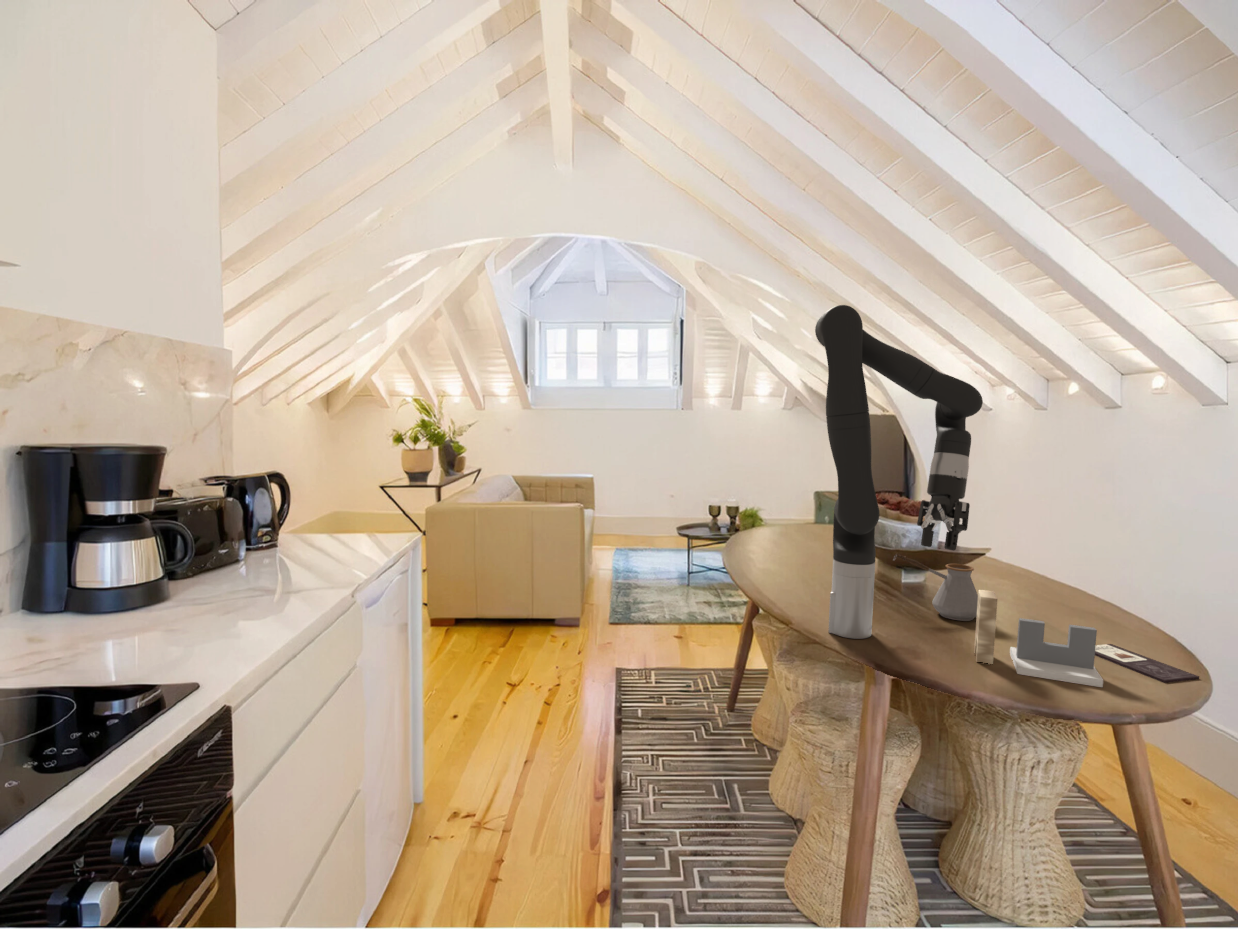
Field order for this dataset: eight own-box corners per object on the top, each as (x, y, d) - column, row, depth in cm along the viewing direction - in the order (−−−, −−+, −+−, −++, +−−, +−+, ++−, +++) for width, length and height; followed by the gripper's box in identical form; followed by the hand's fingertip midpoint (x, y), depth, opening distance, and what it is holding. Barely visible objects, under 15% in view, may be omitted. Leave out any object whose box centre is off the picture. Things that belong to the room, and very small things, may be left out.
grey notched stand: (1017, 673, 130) (1020, 627, 129) (1009, 653, 141) (1012, 610, 140) (1102, 687, 124) (1106, 639, 123) (1087, 665, 135) (1091, 620, 134)
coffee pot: (977, 612, 169) (980, 555, 168) (986, 626, 158) (990, 565, 157) (888, 603, 176) (891, 548, 174) (892, 615, 165) (895, 557, 164)
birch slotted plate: (976, 662, 135) (980, 596, 134) (974, 652, 141) (978, 589, 139) (992, 665, 134) (997, 598, 133) (990, 655, 140) (994, 591, 138)
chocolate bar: (1164, 680, 126) (1078, 646, 144) (1164, 685, 127) (1078, 651, 144) (1199, 676, 129) (1110, 643, 146) (1198, 681, 129) (1110, 648, 146)
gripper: (914, 473, 150) (903, 542, 149) (953, 471, 136) (942, 548, 135) (943, 479, 151) (933, 548, 150) (985, 478, 137) (975, 554, 136)
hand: (937, 548), depth 143 cm, fingers open, 8 cm apart
